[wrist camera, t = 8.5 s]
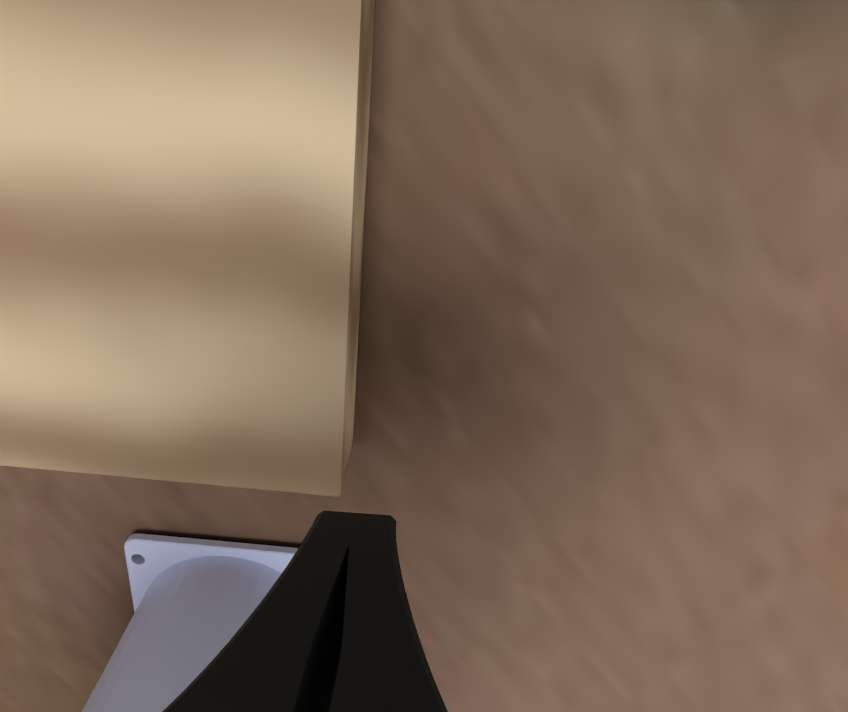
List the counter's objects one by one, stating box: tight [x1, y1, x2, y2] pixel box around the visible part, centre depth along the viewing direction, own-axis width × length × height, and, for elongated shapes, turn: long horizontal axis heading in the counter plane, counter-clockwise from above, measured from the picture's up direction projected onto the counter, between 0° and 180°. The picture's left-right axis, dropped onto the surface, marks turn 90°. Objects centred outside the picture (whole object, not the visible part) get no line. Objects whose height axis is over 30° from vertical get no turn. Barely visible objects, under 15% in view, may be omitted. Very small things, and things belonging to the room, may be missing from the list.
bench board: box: [0, 0, 375, 497], centre depth 18 cm, size 14×14×3 cm
